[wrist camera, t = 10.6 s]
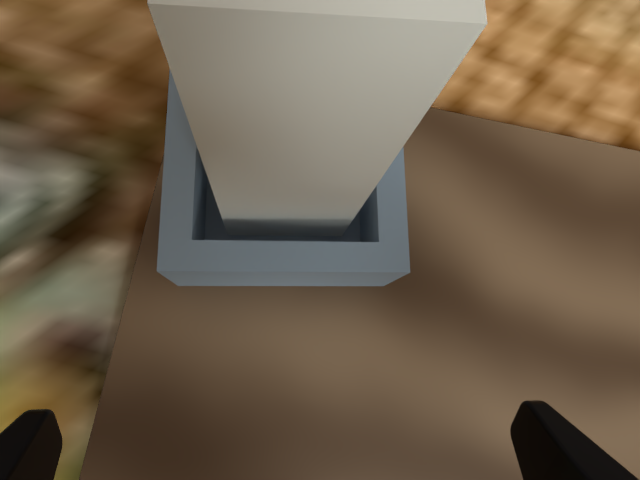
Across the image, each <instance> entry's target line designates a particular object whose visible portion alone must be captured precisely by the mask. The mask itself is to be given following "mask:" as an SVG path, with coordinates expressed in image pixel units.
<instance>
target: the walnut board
mask: <svg viewBox="0 0 640 480" xmlns="http://www.w3.org/2000/svg"><path fill="white" fill-rule="evenodd" d="M403 148H404V167H405V185H406V203H407V221H408V239H409V257H410V273H408V274H406V275H405V276H403V277H401V278H399V279H397V280H395V281H393V282H391V283H389V284H387V285H385V286H177V285H176V284H174V283H173V282H172V281H170V280H169V279H167V278H166V277H164V276H163V275H161V274H160V273H158V272H157V257H158V242H159V226H160V211H161V196H162V180H163V165H164V155H163V159H162V163H161V167H160V171H159V174H158V178H157V182H156V186H155V190H154V194H153V197H152V201H151V205H150V209H149V213H148V217H147V220H146V224H145V228H144V232H143V236H142V240H141V243H140V247H139V251H138V255H137V259H136V263H135V266H134V270H133V274H132V278H131V282H130V286H129V289H128V293H127V297H126V301H125V305H124V309H123V312H122V316H121V320H120V324H119V328H118V332H117V335H116V339H115V343H114V347H113V351H112V355H111V358H110V362H109V366H108V370H107V374H106V378H105V381H104V385H103V389H102V393H101V397H100V401H99V404H98V408H97V412H96V416H95V420H94V424H93V427H92V431H91V435H90V439H89V443H88V447H87V450H86V454H85V458H84V462H83V466H82V470H81V473H80V477H79V480H523V477H522V474H521V471H520V467H519V464H518V460H517V457H516V453H515V450H514V447H513V443H512V440H511V435H510V428H511V424H512V422H513V420H514V417H515V415H516V413H517V411H518V409H519V406H520V404H521V403H522V402H523V401H527V400H541V401H544V402H546V403H548V404H549V405H550V406H551V407H552V408H554V409H555V410H556V411H557V412H558V413H560V414H561V415H562V416H563V417H565V418H566V419H567V420H568V421H569V422H571V423H572V424H573V425H574V426H575V427H577V428H578V429H579V430H580V431H581V432H583V433H584V434H585V435H586V436H587V437H589V438H590V439H591V440H592V441H593V442H595V443H596V444H597V445H598V446H599V447H601V448H602V449H603V450H604V451H605V452H607V453H608V454H609V455H610V456H611V457H613V458H614V459H615V460H616V461H617V462H619V463H620V464H621V465H622V466H623V467H625V468H626V469H627V470H628V471H630V472H631V473H632V474H633V475H634V476H636V477H637V478H638V479H639V480H640V151H636V150H631V149H626V148H621V147H617V146H612V145H607V144H602V143H597V142H593V141H588V140H583V139H578V138H573V137H569V136H564V135H559V134H554V133H550V132H545V131H540V130H535V129H530V128H526V127H521V126H516V125H511V124H507V123H502V122H497V121H492V120H487V119H483V118H478V117H473V116H468V115H464V114H459V113H454V112H449V111H444V110H440V109H435V108H429V110H428V111H427V112H426V114H425V115H424V117H423V118H422V120H421V121H420V123H419V124H418V126H417V127H416V129H415V130H414V131H413V133H412V134H411V136H410V137H409V139H408V140H407V142H406V143H405V145H404V146H403Z"/></svg>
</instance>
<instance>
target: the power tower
mask: <svg viewBox="0 0 640 480" xmlns="http://www.w3.org/2000/svg"><path fill="white" fill-rule="evenodd" d="M147 4H148V7H149V10H150V12H151V15H152V18H153V21H154V24H155V27H156V30H157V33H158V36H159V38H160V41H161V44H162V47H163V50H164V53H165V56H166V59H167V61H168V64H169V67H170V70H171V73H172V76H173V79H174V82H175V85H176V87H177V90H178V93H179V96H180V99H181V102H182V105H183V108H184V110H185V113H186V116H187V119H188V122H189V125H190V128H191V131H192V134H193V136H194V139H195V142H196V145H197V148H198V151H199V154H200V157H201V159H202V162H203V165H204V168H205V171H206V174H207V177H208V180H209V183H210V185H211V188H212V191H213V194H214V197H215V200H216V203H217V206H218V208H219V211H220V214H221V217H222V220H223V223H224V226H225V229H226V232H227V234H228V235H244V236H342V235H343V234H344V232H345V231H346V229H347V228H348V226H349V225H350V223H351V222H352V220H353V219H354V218H355V216H356V215H357V213H358V212H359V210H360V209H361V207H362V206H363V204H364V203H365V201H366V200H367V199H368V197H369V196H370V194H371V193H372V191H373V190H374V188H375V187H376V185H377V184H378V183H379V181H380V180H381V178H382V177H383V175H384V174H385V172H386V171H387V169H388V168H389V166H390V165H391V164H392V162H393V161H394V159H395V158H396V156H397V155H398V153H399V152H400V150H401V149H402V147H403V146H404V145H405V143H406V142H407V140H408V139H409V137H410V136H411V134H412V133H413V131H414V130H415V129H416V127H417V126H418V124H419V123H420V121H421V120H422V118H423V117H424V115H425V114H426V112H427V111H428V110H429V108H430V107H431V105H432V104H433V102H434V101H435V99H436V98H437V96H438V95H439V93H440V92H441V91H442V89H443V88H444V86H445V85H446V83H447V82H448V80H449V79H450V77H451V76H452V75H453V73H454V72H455V70H456V69H457V67H458V66H459V64H460V63H461V61H462V60H463V58H464V57H465V56H466V54H467V53H468V51H469V50H470V48H471V47H472V45H473V44H474V42H475V41H476V39H477V38H478V37H479V35H480V34H481V32H482V31H483V29H484V28H485V26H486V25H487V17H486V8H485V0H148V2H147Z"/></svg>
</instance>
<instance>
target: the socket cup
mask: <svg viewBox="0 0 640 480" xmlns="http://www.w3.org/2000/svg"><path fill="white" fill-rule="evenodd" d="M157 272H158V273H160V274H161V275H163V276H164V277H166V278H167V279H169V280H170V281H172V282H173V283H174V284H176V285H177V286H385V285H387V284H389V283H391V282H393V281H395V280H397V279H399V278H401V277H403V276H405V275H406V274H408V273H410V257H409V239H408V221H407V203H406V185H405V167H404V148H403V147H402V149H401V150H400V152H399V153H398V155H397V156H396V158H395V159H394V161H393V162H392V164H391V165H390V166H389V168H388V169H387V171H386V172H385V174H384V175H383V177H382V178H381V180H380V181H379V183H378V184H377V185H376V187H375V188H374V190H373V191H372V193H371V194H370V196H369V197H368V199H367V200H366V201H365V203H364V204H363V206H362V207H361V209H360V210H359V212H358V213H357V215H356V216H355V218H354V219H353V220H352V222H351V223H350V225H349V226H348V228H347V229H346V231H345V232H344V234H343V235H342V236H244V235H228V234H227V232H226V229H225V226H224V223H223V220H222V217H221V214H220V211H219V208H218V206H217V203H216V200H215V197H214V194H213V191H212V188H211V185H210V183H209V180H208V177H207V174H206V171H205V168H204V165H203V162H202V159H201V157H200V154H199V151H198V148H197V145H196V142H195V139H194V136H193V134H192V131H191V128H190V125H189V122H188V119H187V116H186V113H185V110H184V108H183V105H182V102H181V99H180V96H179V93H178V90H177V87H176V85H175V82H174V79H173V76H172V73H171V70H170V72H169V87H168V103H167V118H166V134H165V149H164V165H163V180H162V196H161V211H160V226H159V242H158V257H157Z"/></svg>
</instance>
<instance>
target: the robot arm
mask: <svg viewBox="0 0 640 480" xmlns="http://www.w3.org/2000/svg"><path fill="white" fill-rule="evenodd" d="M510 435H511V440H512V443H513V447H514V450H515V453H516V457H517V460H518V464H519V467H520V471H521V474H522V477H523V480H639V479H638V478H637V477H636V476H634V475H633V474H632V473H631V472H630V471H628V470H627V469H626V468H625V467H623V466H622V465H621V464H620V463H619V462H617V461H616V460H615V459H614V458H613V457H611V456H610V455H609V454H608V453H607V452H605V451H604V450H603V449H602V448H601V447H599V446H598V445H597V444H596V443H595V442H593V441H592V440H591V439H590V438H589V437H587V436H586V435H585V434H584V433H583V432H581V431H580V430H579V429H578V428H577V427H575V426H574V425H573V424H572V423H571V422H569V421H568V420H567V419H566V418H565V417H563V416H562V415H561V414H560V413H558V412H557V411H556V410H555V409H554V408H552V407H551V406H550V405H549V404H548V403H546V402H544V401H541V400H527V401H523V402H522V403H521V404H520V406H519V409H518V411H517V413H516V415H515V417H514V420H513V422H512V424H511V428H510ZM61 449H62V436H61V433H60V429H59V426H58V423H57V420H56V417H55V414H54V412H53V411H51V410H49V409H38V410H28V411H26V412H24V413H23V414H21V415H20V416H19V417H18V418H17V419H16V420H15V421H14V422H13V423H11V424H10V425H9V426H8V427H7V428H6V429H5V430H4V431H2V432H1V433H0V480H53V479H54V476H55V472H56V468H57V465H58V461H59V457H60V453H61Z"/></svg>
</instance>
